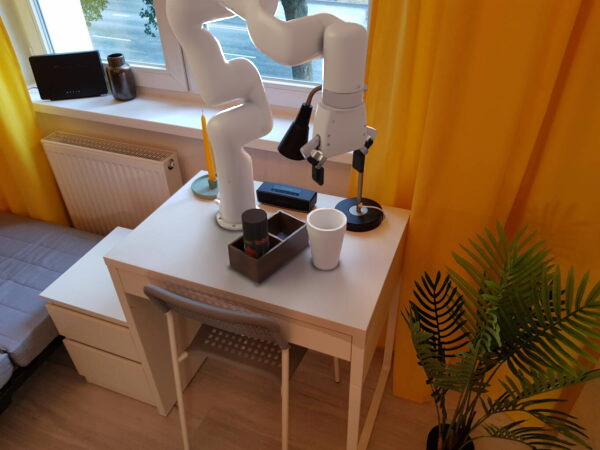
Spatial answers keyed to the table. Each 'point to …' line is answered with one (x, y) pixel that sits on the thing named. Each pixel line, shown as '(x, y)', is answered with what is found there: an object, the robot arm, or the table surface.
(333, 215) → the foam cup
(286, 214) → the organiser
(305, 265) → the table surface
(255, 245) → the deodorant
